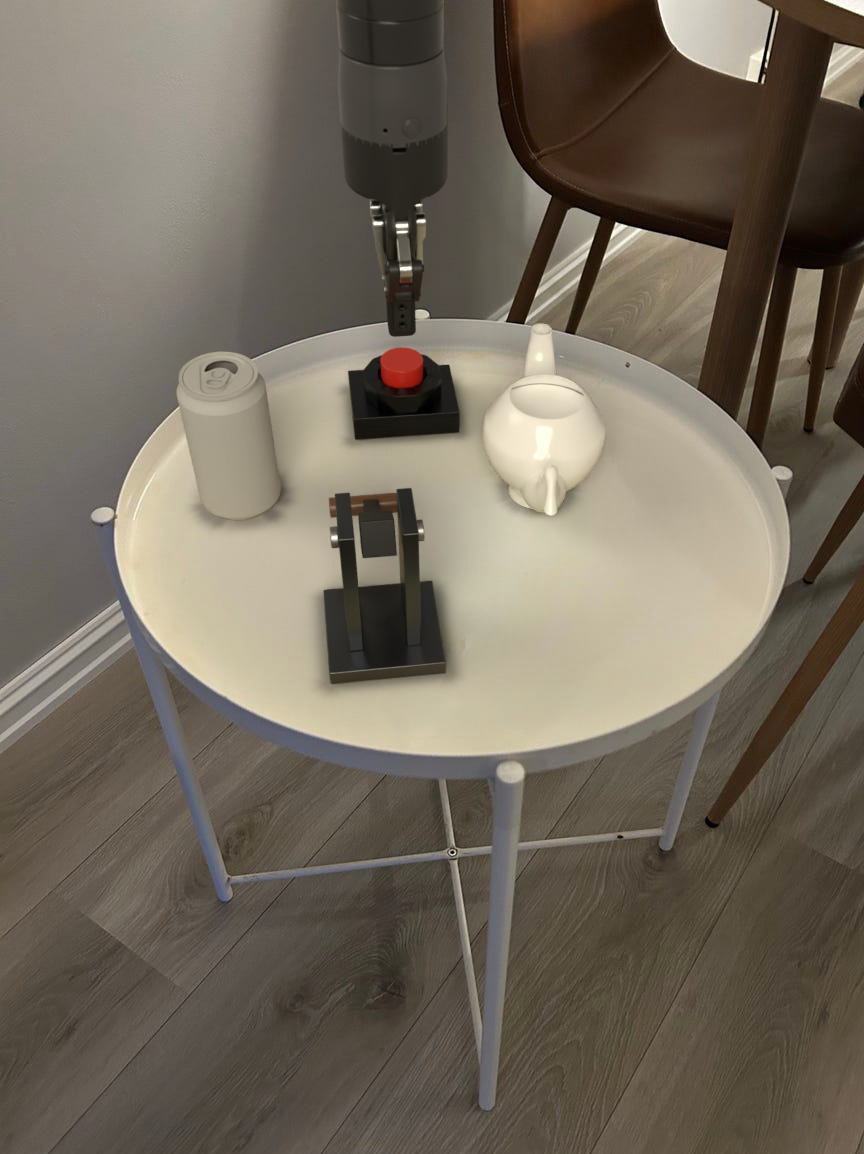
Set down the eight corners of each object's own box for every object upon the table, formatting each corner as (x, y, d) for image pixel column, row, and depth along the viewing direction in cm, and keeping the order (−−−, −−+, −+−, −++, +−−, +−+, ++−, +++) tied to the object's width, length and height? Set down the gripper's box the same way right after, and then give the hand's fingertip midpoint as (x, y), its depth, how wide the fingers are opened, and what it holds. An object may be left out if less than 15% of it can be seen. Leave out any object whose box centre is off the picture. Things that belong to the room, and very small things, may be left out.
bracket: (324, 600, 79) (309, 476, 70) (432, 591, 80) (431, 467, 71) (330, 684, 74) (315, 562, 65) (445, 673, 75) (446, 551, 66)
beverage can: (289, 476, 88) (272, 350, 79) (271, 529, 84) (251, 403, 75) (213, 469, 88) (187, 343, 79) (191, 522, 84) (161, 395, 75)
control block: (354, 440, 91) (351, 401, 88) (349, 391, 96) (346, 352, 93) (459, 432, 92) (460, 394, 89) (449, 384, 97) (449, 346, 94)
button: (383, 390, 90) (382, 373, 89) (379, 366, 92) (378, 348, 91) (425, 388, 90) (425, 370, 89) (421, 363, 93) (420, 346, 91)
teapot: (480, 576, 81) (484, 481, 74) (479, 414, 94) (482, 321, 87) (607, 578, 81) (622, 484, 74) (588, 416, 94) (599, 323, 87)
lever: (330, 521, 78) (327, 489, 77) (412, 515, 79) (410, 483, 78) (332, 561, 68) (328, 524, 67) (426, 553, 69) (424, 516, 68)
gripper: (334, 78, 79) (350, 291, 92) (346, 161, 70) (361, 382, 83) (436, 75, 80) (437, 286, 93) (459, 156, 71) (457, 376, 84)
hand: (401, 331), depth 88 cm, fingers closed
